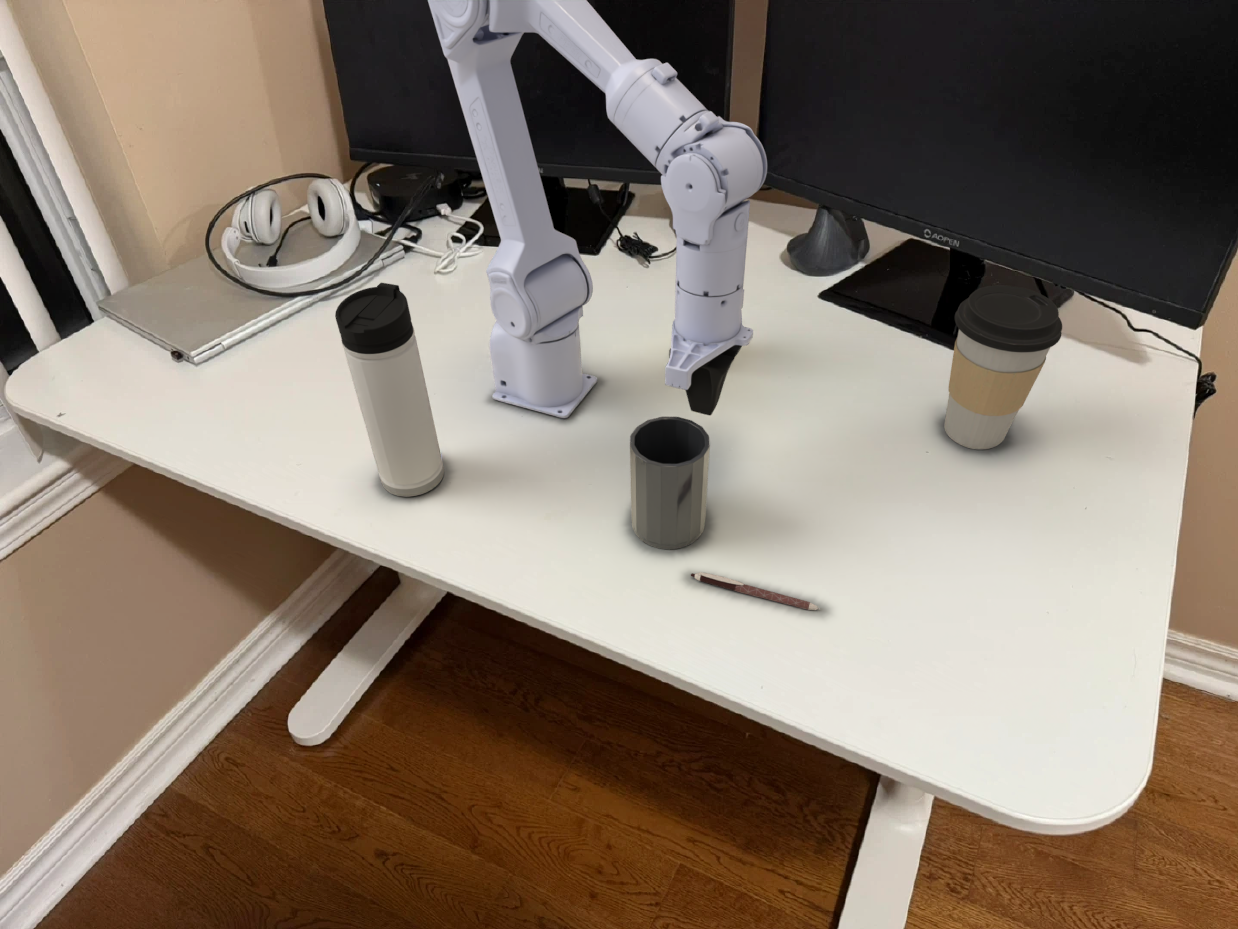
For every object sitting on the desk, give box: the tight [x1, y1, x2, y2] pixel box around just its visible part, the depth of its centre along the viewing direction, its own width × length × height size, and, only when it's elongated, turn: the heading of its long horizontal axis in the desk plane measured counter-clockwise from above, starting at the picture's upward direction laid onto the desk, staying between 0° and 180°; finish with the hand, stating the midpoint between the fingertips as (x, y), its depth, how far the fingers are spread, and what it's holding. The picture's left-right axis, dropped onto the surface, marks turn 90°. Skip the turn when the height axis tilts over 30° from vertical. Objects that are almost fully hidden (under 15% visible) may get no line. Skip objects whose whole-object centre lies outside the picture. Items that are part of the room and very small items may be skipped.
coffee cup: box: [943, 284, 1063, 450], centre depth 83 cm, size 9×9×15 cm
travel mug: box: [334, 282, 445, 498], centre depth 78 cm, size 6×7×20 cm
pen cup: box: [629, 416, 711, 550], centre depth 76 cm, size 7×7×10 cm
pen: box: [690, 571, 821, 611], centre depth 72 cm, size 11×1×1 cm, turn 70°
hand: (703, 409), depth 80 cm, fingers closed
